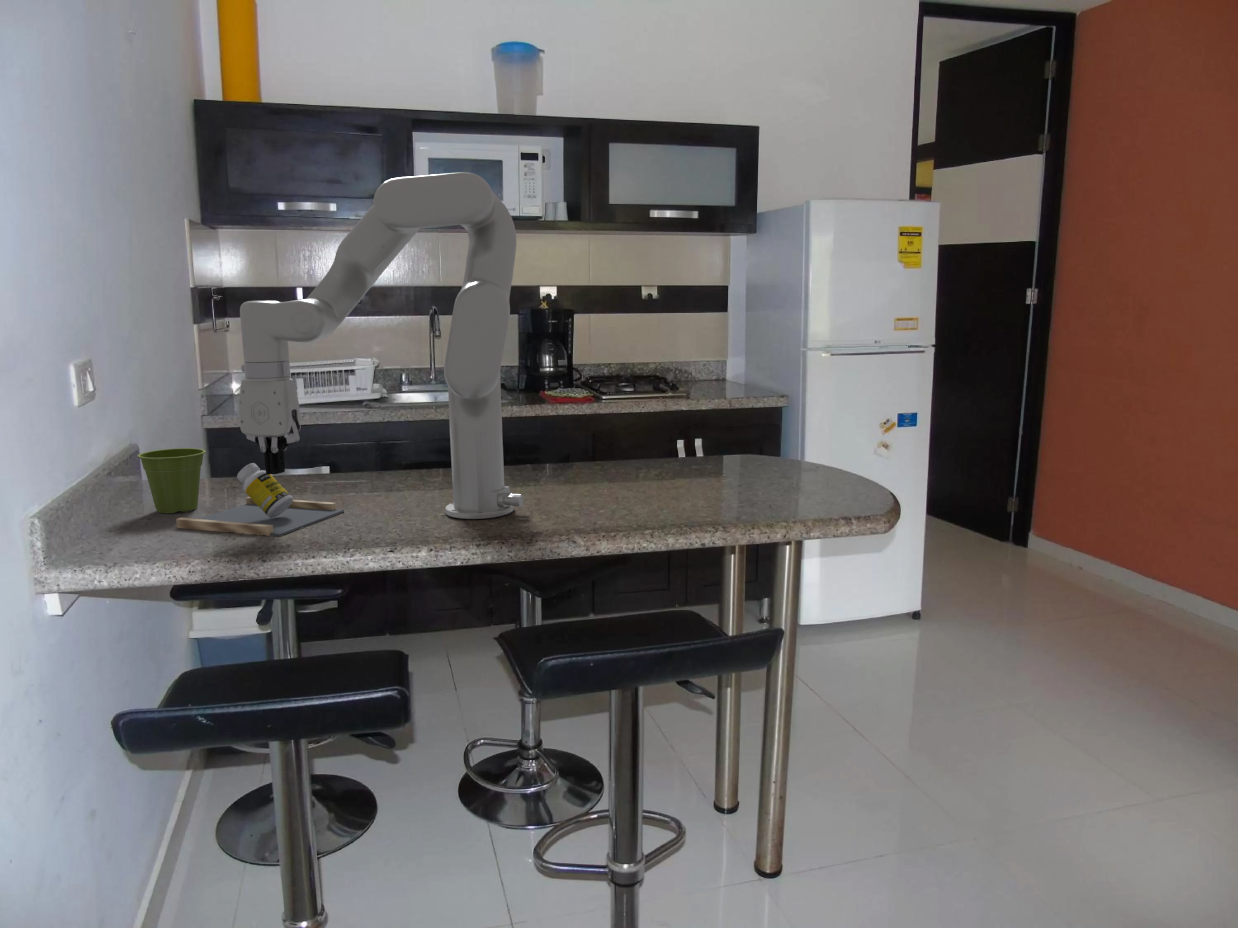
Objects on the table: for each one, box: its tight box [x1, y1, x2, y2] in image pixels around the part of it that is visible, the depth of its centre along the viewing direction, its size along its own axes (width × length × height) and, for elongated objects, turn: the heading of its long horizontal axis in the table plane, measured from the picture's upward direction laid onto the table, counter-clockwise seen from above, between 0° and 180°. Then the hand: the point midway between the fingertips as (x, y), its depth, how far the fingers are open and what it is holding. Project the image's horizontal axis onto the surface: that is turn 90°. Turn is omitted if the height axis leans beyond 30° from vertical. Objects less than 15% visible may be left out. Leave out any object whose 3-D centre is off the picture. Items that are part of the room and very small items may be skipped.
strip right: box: [245, 496, 337, 510], centre depth 178 cm, size 20×1×2 cm, turn 71°
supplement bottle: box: [236, 462, 294, 518], centre depth 168 cm, size 5×5×10 cm
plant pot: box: [136, 447, 207, 514], centre depth 177 cm, size 12×12×11 cm
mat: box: [199, 503, 345, 537], centre depth 169 cm, size 22×18×1 cm
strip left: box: [175, 517, 273, 537], centre depth 161 cm, size 20×1×2 cm, turn 71°
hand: (275, 473), depth 166 cm, fingers closed
